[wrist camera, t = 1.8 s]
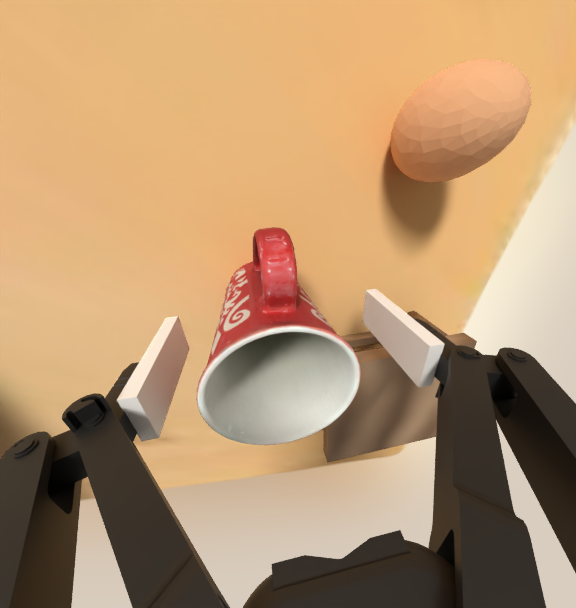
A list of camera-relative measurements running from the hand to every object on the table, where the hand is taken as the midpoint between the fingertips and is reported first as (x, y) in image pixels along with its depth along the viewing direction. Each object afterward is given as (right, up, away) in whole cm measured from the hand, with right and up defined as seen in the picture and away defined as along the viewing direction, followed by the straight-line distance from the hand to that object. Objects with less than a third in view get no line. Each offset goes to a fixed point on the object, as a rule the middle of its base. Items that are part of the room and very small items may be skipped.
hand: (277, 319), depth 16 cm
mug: (-2, +4, +7) cm, 9 cm away
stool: (+11, -7, +15) cm, 20 cm away
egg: (+11, +16, +4) cm, 19 cm away
